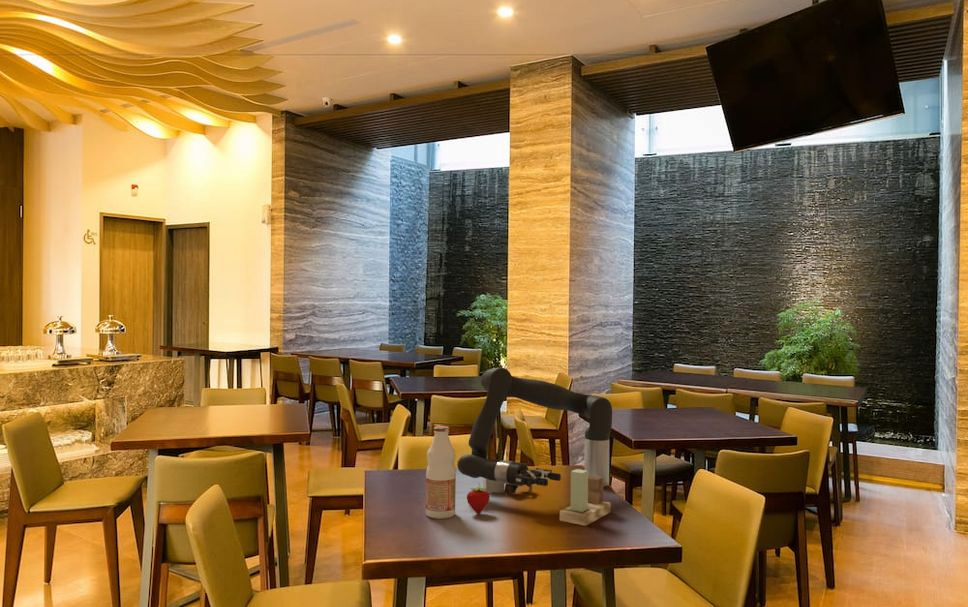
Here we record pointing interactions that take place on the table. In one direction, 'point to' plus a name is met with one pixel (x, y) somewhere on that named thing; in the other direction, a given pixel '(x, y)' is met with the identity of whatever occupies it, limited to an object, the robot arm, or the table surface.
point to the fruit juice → (440, 476)
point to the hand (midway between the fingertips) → (553, 480)
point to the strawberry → (478, 499)
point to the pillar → (579, 490)
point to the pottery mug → (514, 489)
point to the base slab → (589, 505)
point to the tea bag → (493, 486)
